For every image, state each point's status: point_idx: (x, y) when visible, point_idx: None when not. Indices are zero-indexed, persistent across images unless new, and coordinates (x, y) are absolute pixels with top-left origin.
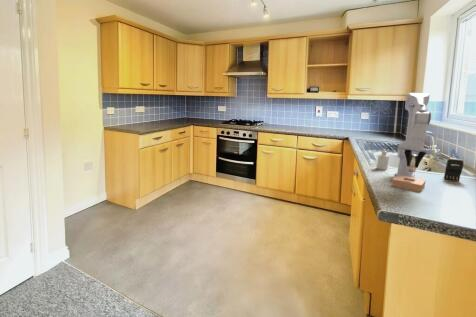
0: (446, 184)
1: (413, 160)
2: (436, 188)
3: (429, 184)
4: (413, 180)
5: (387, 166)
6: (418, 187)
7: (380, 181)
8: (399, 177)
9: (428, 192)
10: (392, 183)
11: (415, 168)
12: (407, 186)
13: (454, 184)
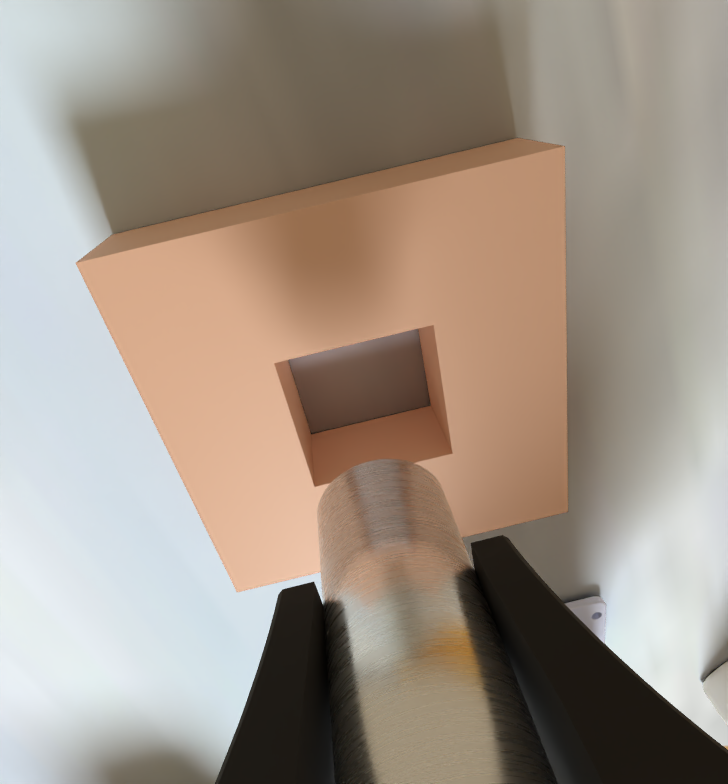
0: (163, 724)
1: (418, 739)
2: (120, 550)
3: (243, 610)
4: (335, 468)
5: (721, 715)
6: (134, 237)
7: (692, 196)
8: (510, 388)
9: (44, 306)
10: (520, 143)
11: (321, 575)
12: (295, 195)
13: (132, 769)
